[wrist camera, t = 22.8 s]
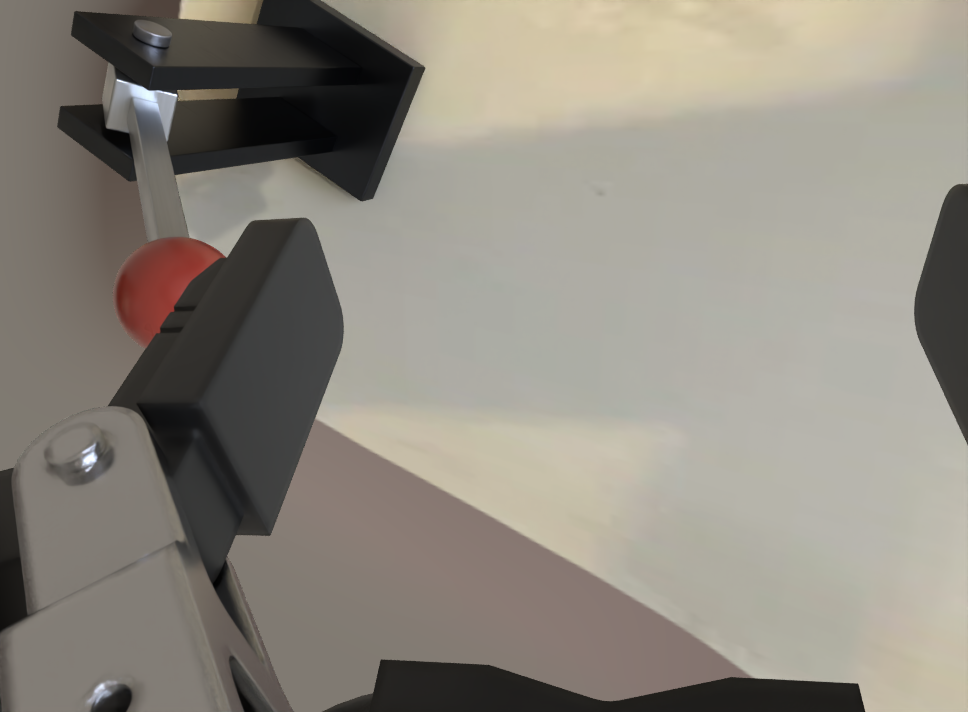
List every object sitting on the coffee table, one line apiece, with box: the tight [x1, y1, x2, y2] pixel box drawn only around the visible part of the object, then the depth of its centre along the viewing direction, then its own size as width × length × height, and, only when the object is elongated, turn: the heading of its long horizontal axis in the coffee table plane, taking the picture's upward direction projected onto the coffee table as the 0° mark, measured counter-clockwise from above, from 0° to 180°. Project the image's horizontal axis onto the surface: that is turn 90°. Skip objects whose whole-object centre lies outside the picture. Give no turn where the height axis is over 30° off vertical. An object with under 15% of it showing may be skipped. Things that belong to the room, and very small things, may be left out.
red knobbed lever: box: [102, 62, 226, 349], centre depth 27 cm, size 17×4×4 cm
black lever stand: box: [57, 0, 425, 201], centre depth 37 cm, size 10×8×15 cm
